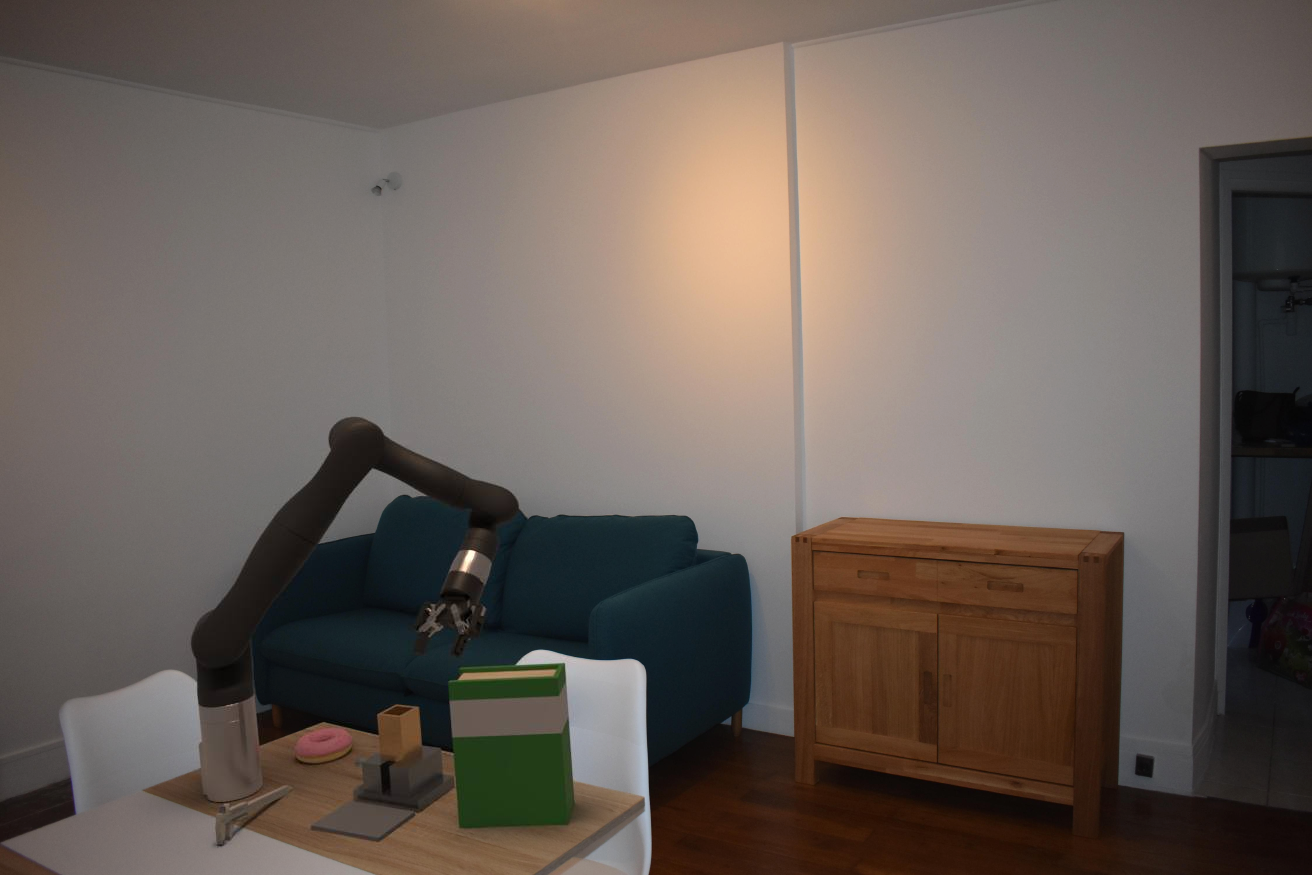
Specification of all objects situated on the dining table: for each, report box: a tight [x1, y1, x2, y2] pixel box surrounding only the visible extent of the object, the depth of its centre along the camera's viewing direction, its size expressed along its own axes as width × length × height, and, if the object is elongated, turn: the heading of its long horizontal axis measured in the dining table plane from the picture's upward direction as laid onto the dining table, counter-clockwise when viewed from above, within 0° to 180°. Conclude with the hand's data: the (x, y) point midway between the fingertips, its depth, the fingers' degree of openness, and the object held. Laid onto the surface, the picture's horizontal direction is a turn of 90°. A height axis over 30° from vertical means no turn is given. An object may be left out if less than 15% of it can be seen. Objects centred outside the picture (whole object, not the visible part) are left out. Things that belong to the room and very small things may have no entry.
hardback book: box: [447, 662, 576, 829], centre depth 148 cm, size 18×7×24 cm, turn 87°
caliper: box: [214, 784, 294, 846], centre depth 154 cm, size 20×1×6 cm, turn 171°
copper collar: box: [376, 704, 423, 763], centre depth 159 cm, size 5×5×8 cm
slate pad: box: [310, 800, 416, 843], centre depth 150 cm, size 14×9×1 cm, turn 67°
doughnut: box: [293, 727, 353, 764], centre depth 180 cm, size 11×11×4 cm
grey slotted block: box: [352, 745, 456, 813], centre depth 159 cm, size 17×10×13 cm, turn 67°
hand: (435, 654), depth 168 cm, fingers open, 8 cm apart
